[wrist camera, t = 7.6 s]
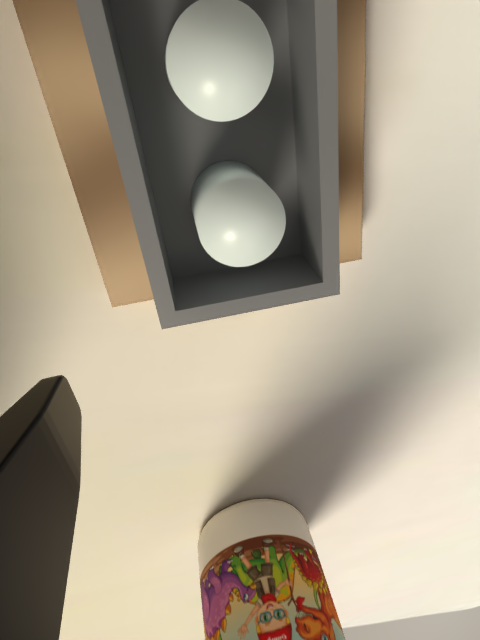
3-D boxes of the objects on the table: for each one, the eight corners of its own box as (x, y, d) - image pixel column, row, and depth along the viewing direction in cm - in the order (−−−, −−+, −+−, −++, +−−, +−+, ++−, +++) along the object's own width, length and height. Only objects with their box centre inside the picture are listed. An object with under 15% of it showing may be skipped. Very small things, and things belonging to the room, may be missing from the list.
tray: (310, 258, 19) (342, 297, 16) (160, 286, 18) (162, 333, 15) (294, -80, 13) (340, -128, 10) (76, -52, 13) (49, -93, 9)
